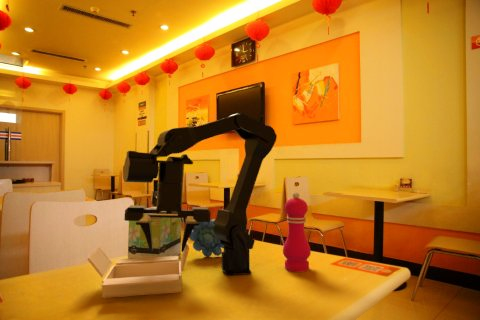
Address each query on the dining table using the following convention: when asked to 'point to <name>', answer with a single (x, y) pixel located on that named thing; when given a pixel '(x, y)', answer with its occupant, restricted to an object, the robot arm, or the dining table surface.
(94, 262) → the flap
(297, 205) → the pepper mill
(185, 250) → the flap
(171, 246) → the tea box
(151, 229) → the robot arm
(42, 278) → the dining table surface
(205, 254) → the blue succulent rosette
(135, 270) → the carton
